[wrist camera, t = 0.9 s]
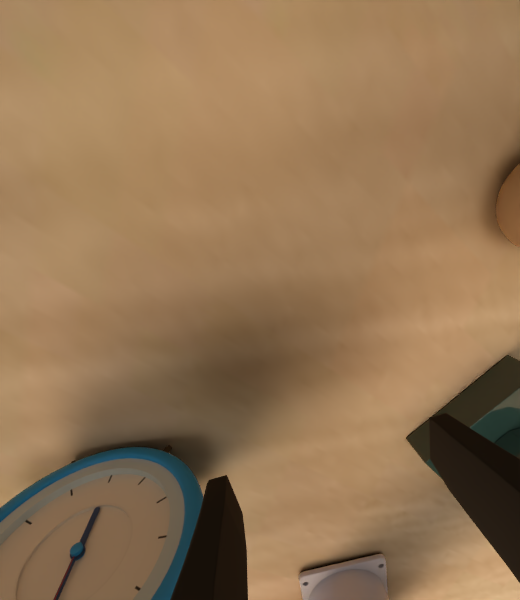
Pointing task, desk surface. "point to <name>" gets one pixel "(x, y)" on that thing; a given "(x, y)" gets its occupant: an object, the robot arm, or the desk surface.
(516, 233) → the copper metal bottle
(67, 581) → the alarm clock
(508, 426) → the button base
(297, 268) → the desk surface
